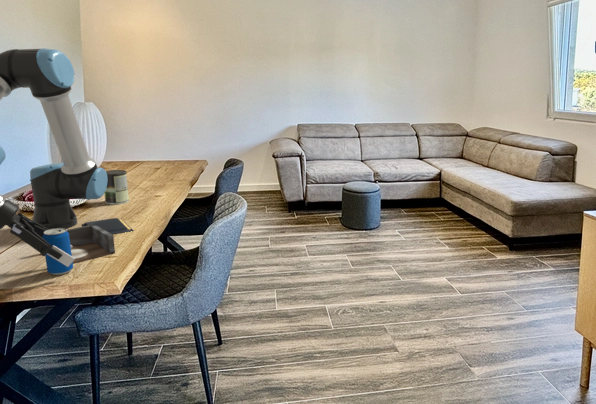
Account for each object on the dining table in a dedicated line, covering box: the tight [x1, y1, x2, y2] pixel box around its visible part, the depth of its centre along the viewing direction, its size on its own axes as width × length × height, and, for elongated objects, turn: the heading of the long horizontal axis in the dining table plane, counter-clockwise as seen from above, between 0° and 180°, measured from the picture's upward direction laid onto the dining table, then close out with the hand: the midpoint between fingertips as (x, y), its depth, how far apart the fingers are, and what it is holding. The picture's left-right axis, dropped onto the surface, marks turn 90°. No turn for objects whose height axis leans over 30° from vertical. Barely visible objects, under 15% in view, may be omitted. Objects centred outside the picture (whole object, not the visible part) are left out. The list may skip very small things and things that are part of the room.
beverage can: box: [43, 228, 74, 276], centre depth 124 cm, size 6×6×12 cm
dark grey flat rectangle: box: [81, 217, 135, 236], centre depth 166 cm, size 20×2×15 cm
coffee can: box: [104, 169, 130, 206], centre depth 203 cm, size 10×10×14 cm
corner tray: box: [67, 224, 116, 265], centre depth 140 cm, size 16×16×6 cm
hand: (70, 256), depth 126 cm, fingers open, 11 cm apart
